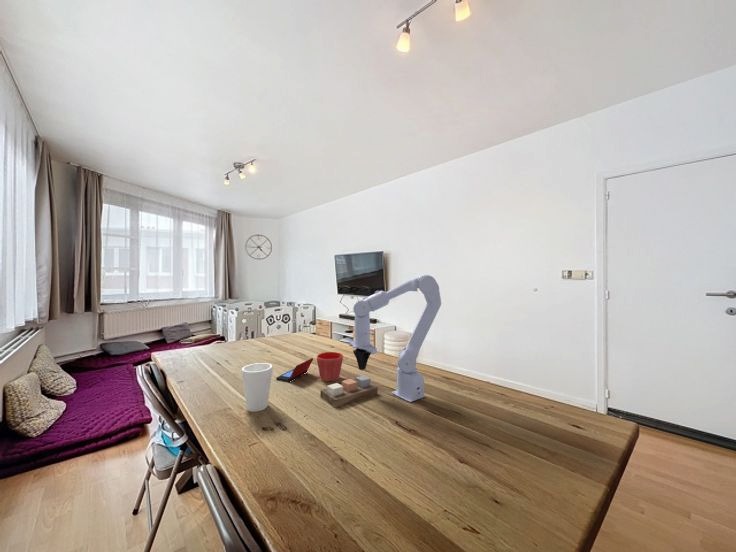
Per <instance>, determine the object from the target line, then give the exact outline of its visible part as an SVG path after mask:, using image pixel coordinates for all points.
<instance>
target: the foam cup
mask: <svg viewBox="0 0 736 552" xmlns="http://www.w3.org/2000/svg"><path fill="white" fill-rule="evenodd" d="M273 371H274V370H273V365H272V364H271V363H267V362H258V363H257V362H255V363H252V364H247V365H245V366H242V368H241V372H240V373H241V379H242V386H243V392H244V400H245V406H246V410H247V412H252V413H253V412H255V413H256V412H259V411H263V410H265V409H267V407H268V404H269V398H270V391H271V390H270V389H271V382H272V375H273Z"/></svg>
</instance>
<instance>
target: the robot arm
mask: <svg viewBox="0 0 736 552" xmlns="http://www.w3.org/2000/svg"><path fill="white" fill-rule="evenodd" d="M418 290H419V291H420V292H421V293H422V294H423V296H424V299H425V302H426V304H425V306H424V309H423V311H422V312H421V315H420V316H419V319H418V321H417V323H416V324H415V327H414V330H413V331H412V333H411V336H410V338H409V339H408V342H407V343H406V345H405V346H404V348H403V349H401V350H400V352H399V354H398V359H397V368H396V390H393V391H392V392H391V394H393V395H395V396H397V397H399V398H401V399H403V400H405V401H407V402H409V403H412V402H414V401H417V400H420V399H423V398H425V397H426V394H425V379H424V376H423V375H422V374H421V373H420V372H418V368H417V362H416V361H417V358H418V356H419V354H420V353H419V352H420V351H421V350H420V349H421V347H422V345H423V343H424V341H425V339H426V337H427V334H429V330H430V328H431V327H432V325H433V323H434V320H435V318H436V316H437V315H438V312H439V310H440V308H441V307H442V299H441V293H440V292H441V291H440V286H439V283H438V282H437V280H436V278H435V277H433V276H432V275H426V274H425V275H422V276H420V277H416V278H413V279H409V280H406V281H405V282H404V283H401V284H399V285H397V286H396V287H393V288H391V289H390V290H388V291H384V290H376V291H374V293H373V294H371V295H368V296H364V297H363V299H361V300H358V301H357V302H355V304H354V305H353V307H352V308H353V310H352V311H353V313H354V340H349V341H348V346H349V347H352V348H353V350H352V352H353V354H354V357H355V358H356V362H357V365H358V366H357V367H358V370H359V371H363V370H366V369H367V365H368V360H369V358H370V356H371V355H374V354H375V355H376V354H377V353H378V349H377V347H375V346H374V345H372V344H371V320H370V319H371V318H370V312H375V311H377V310H379V309H382V308H383V307H386V306H387V305H389V303H390V301H391V300H393V299H395V298H397V297H398V296H401V295H403V294H406V293H407V292H418Z"/></svg>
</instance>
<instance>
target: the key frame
mask: <svg viewBox="0 0 736 552" xmlns="http://www.w3.org/2000/svg"><path fill="white" fill-rule="evenodd" d="M340 385H341V386H342V383H340ZM378 390H379V389H378V386H377V385H374V384H373V383H371V382H370V386H367V387H363V388H361V387H359V386H357V390H353V391H350V392H347V391H345V390H343V394H340V395H337V396H331V395H329V394H328V393H327V388H324V389H320V398H321V399H322V400H323V401H325V402H326V401H327V402H326V403H328V404H329V405H331V406H332V407H333V408H335V409H336V408H339V407H341V406H344V405H347V404H350V403H353V402H356V401H360V400H363V399H366V398H369V397H372V396H374V395H378V393H379V391H378Z"/></svg>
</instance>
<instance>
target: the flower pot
mask: <svg viewBox="0 0 736 552" xmlns="http://www.w3.org/2000/svg"><path fill="white" fill-rule="evenodd" d="M343 359H344V355H343V353H341V352H337V351H327V352H321V353H319V354H317V355H316V361H317V367H318V372H319V377H320V380H321V379H322V380H324V381H323V382H327V381H331V382H334V380H335V381H338V380H340V379H339V378H340V375H341V371H342V365H343ZM337 379H338V380H337ZM322 380H321V381H322Z"/></svg>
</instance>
